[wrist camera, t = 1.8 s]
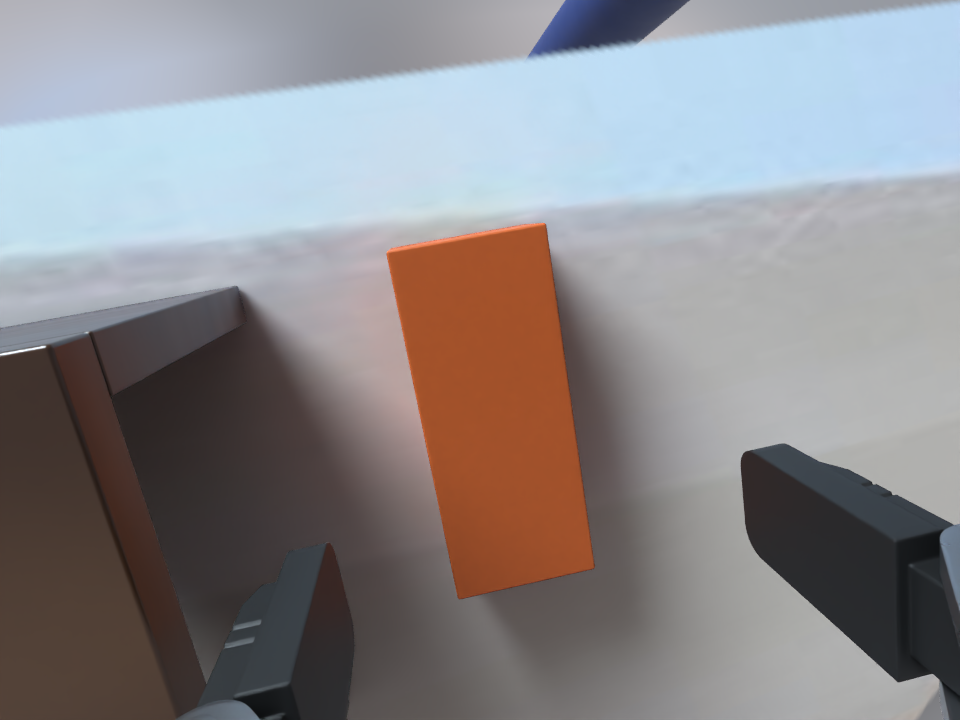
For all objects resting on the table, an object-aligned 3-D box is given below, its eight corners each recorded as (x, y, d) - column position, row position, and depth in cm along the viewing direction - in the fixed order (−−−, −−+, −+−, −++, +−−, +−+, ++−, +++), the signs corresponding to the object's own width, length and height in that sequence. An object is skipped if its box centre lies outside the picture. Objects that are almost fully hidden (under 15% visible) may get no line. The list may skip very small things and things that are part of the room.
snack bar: (389, 248, 19) (385, 251, 16) (525, 224, 19) (546, 222, 16) (451, 550, 21) (458, 600, 18) (570, 524, 22) (595, 569, 19)
